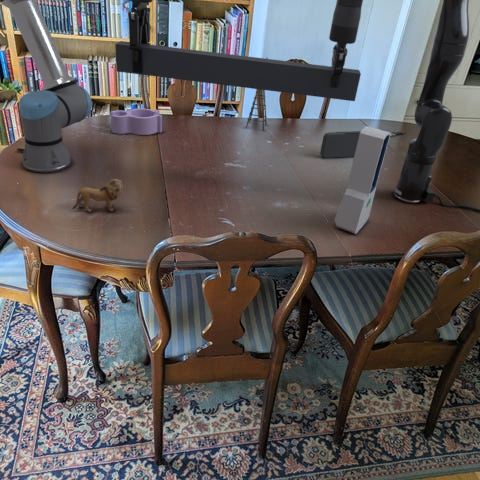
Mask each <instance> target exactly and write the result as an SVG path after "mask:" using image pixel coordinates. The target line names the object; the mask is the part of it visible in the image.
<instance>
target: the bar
mask: <svg viewBox="0 0 480 480" xmlns="http://www.w3.org/2000/svg"><path fill="white" fill-rule="evenodd" d="M129 47H130V41H123V40H120V41H118V42H116V43H114V48H115V50H114V51H115V69H116V72H117V73H125V74H134V75H139V76H140V75H142V76H149V77H156V78H157V77H158V78H164V79H173V80H181V81H190V82H197V83H206V84H214V85H222V86H229V87H237V88H246V89H253V90H257V89H259V90H261V91H262V90H265V91H269V92H278V93H284V94H292V95H302V96H309V97H317V98H324V99H332V100H341V101H348V102H355V101H356V98H357V93H358V89H359V84H360V80H361V75H362V73H361V70H360V69H355V68H354V69H353V68H347V67H343V70H342V71H343V72H342V74H341V75H340V79H339V84H338V87H337V88H332V87H331V86H330V85H331V79H332V71H333V67H331V66H329V65H323V64H322V65H320V64H312V63H306V62H298V61H297V62H296V61H290V60H289V61H288V60H280V59H271V58H268V59H267V58H264V57H263V58H262V57H256V56H248V55H247V56H246V55H238V54H230V53H223V52H213V51H206V50H199V49H198V50H197V49H190V48H181V47H172V46H166V45H165V46H164V45H157V44H151V45H149V44H141V50H142V73H136V72H133V55H132V50H131V49H129ZM336 69H340V68H338V67H336Z"/></svg>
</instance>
